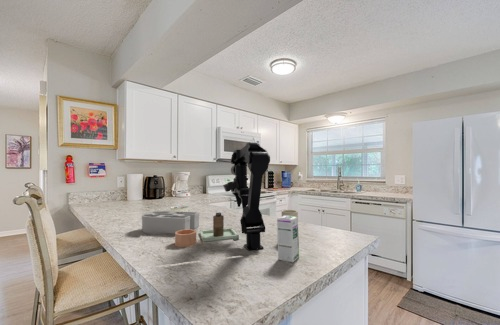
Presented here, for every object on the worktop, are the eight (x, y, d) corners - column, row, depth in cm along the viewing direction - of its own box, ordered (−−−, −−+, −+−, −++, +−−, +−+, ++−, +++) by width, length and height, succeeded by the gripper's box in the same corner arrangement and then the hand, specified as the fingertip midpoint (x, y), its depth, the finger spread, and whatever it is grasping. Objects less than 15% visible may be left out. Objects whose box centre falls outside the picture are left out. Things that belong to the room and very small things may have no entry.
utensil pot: (197, 247, 93) (197, 233, 93) (174, 249, 90) (174, 235, 90) (195, 241, 101) (195, 228, 102) (174, 243, 99) (174, 230, 99)
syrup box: (293, 263, 76) (292, 219, 77) (277, 259, 79) (276, 217, 80) (299, 257, 81) (298, 216, 82) (283, 254, 84) (283, 214, 85)
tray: (238, 239, 103) (238, 235, 103) (202, 243, 98) (202, 238, 98) (231, 231, 116) (231, 227, 116) (199, 234, 111) (199, 230, 111)
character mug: (297, 245, 94) (296, 213, 95) (280, 244, 96) (279, 213, 97) (299, 237, 105) (298, 209, 105) (283, 236, 107) (283, 208, 107)
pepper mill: (224, 236, 105) (224, 213, 106) (214, 237, 104) (214, 214, 104) (222, 233, 110) (222, 211, 110) (212, 234, 108) (212, 212, 109)
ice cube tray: (184, 236, 110) (184, 218, 110) (134, 233, 116) (134, 216, 116) (199, 228, 126) (199, 212, 126) (154, 225, 132) (154, 210, 132)
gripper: (221, 175, 117) (221, 206, 116) (228, 176, 99) (229, 212, 99) (242, 175, 120) (242, 205, 120) (253, 176, 102) (253, 211, 102)
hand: (241, 208), depth 110 cm, fingers open, 9 cm apart
